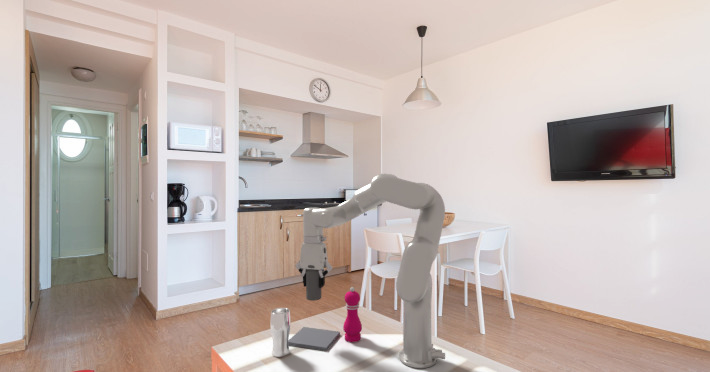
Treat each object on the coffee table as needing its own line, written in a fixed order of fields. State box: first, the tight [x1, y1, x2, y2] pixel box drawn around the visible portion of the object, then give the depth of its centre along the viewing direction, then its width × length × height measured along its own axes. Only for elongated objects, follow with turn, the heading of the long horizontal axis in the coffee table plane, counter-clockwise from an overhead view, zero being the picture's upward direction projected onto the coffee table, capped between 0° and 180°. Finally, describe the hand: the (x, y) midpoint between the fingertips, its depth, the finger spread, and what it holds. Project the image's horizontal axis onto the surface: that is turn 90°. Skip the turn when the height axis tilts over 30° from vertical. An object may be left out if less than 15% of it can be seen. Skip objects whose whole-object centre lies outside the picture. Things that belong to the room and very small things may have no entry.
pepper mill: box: [342, 286, 363, 343], centre depth 132 cm, size 7×7×20 cm
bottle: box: [305, 265, 322, 302], centre depth 131 cm, size 6×6×15 cm
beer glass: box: [269, 307, 291, 358], centre depth 121 cm, size 7×7×15 cm
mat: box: [288, 326, 341, 352], centre depth 131 cm, size 16×14×1 cm
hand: (313, 285), depth 131 cm, fingers closed on bottle, 5 cm apart
